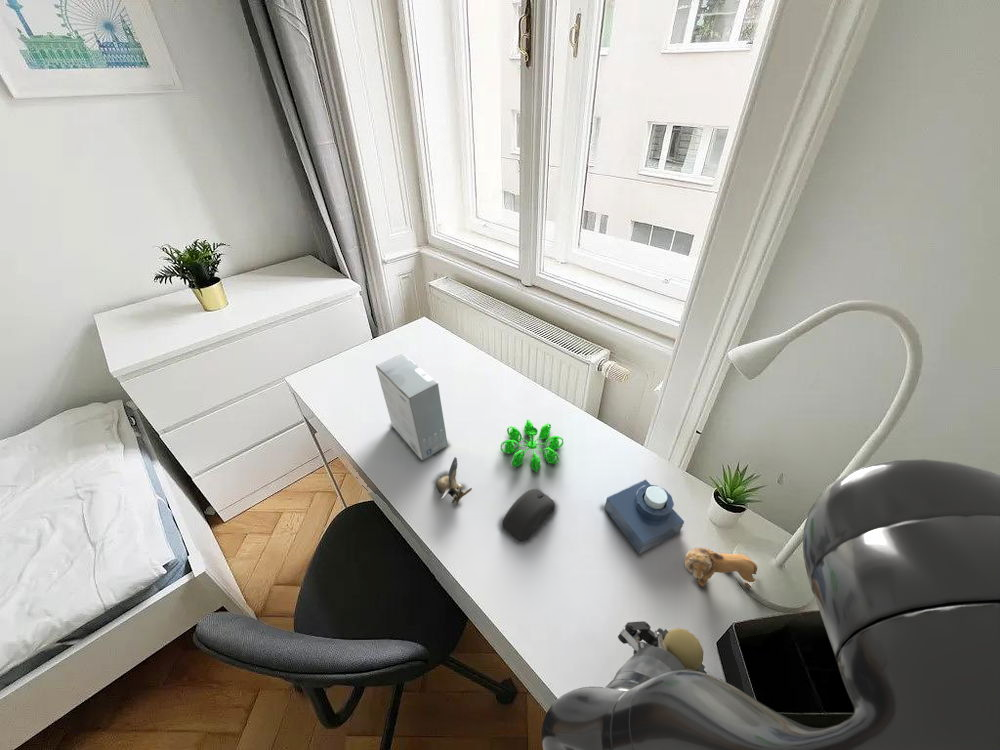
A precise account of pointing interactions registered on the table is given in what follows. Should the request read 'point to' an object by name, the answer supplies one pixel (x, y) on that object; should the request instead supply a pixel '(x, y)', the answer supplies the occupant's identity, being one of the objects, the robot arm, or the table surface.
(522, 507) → the computer mouse
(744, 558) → the lion figurine
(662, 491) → the white button cap
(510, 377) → the table surface
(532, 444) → the chandelier
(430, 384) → the hard drive box
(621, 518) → the button base
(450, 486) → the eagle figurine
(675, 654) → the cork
